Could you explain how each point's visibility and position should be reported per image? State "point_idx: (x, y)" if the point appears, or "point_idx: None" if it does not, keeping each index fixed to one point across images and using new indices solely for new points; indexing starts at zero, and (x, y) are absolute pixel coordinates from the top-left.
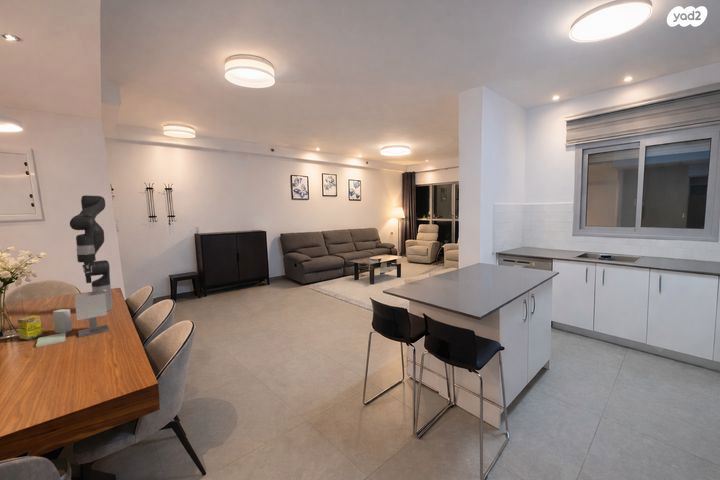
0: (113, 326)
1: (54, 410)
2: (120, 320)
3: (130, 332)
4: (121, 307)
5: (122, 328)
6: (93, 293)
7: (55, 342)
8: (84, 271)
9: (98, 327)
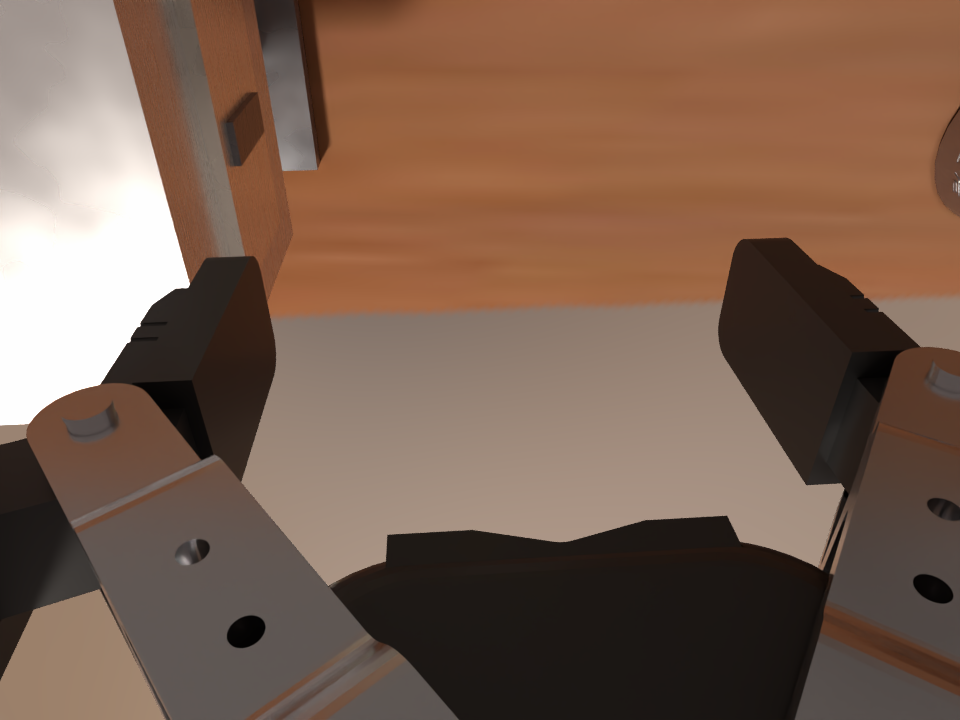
0: (300, 209)
1: None
2: (469, 267)
3: None
4: (954, 291)
5: None
6: (11, 265)
7: None
8: (89, 562)
9: (271, 91)
